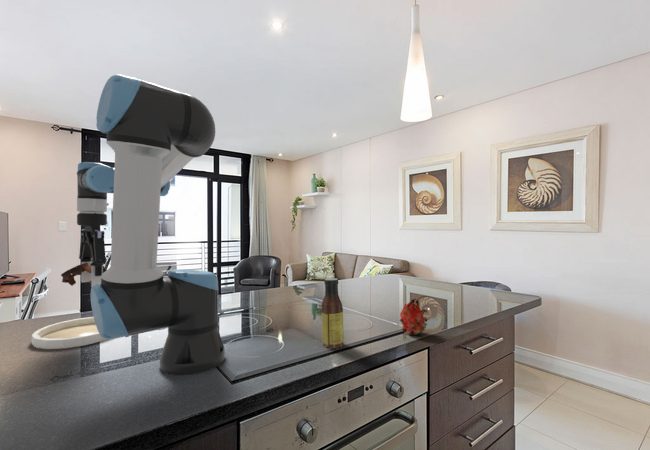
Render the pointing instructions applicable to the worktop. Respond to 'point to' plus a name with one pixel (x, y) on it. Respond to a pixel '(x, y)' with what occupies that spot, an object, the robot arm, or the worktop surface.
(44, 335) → the shallow round plate
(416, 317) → the dragon fruit
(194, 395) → the worktop surface
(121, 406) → the worktop surface
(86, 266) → the brown jagged angular piece
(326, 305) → the sauce bottle
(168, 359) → the robot arm
